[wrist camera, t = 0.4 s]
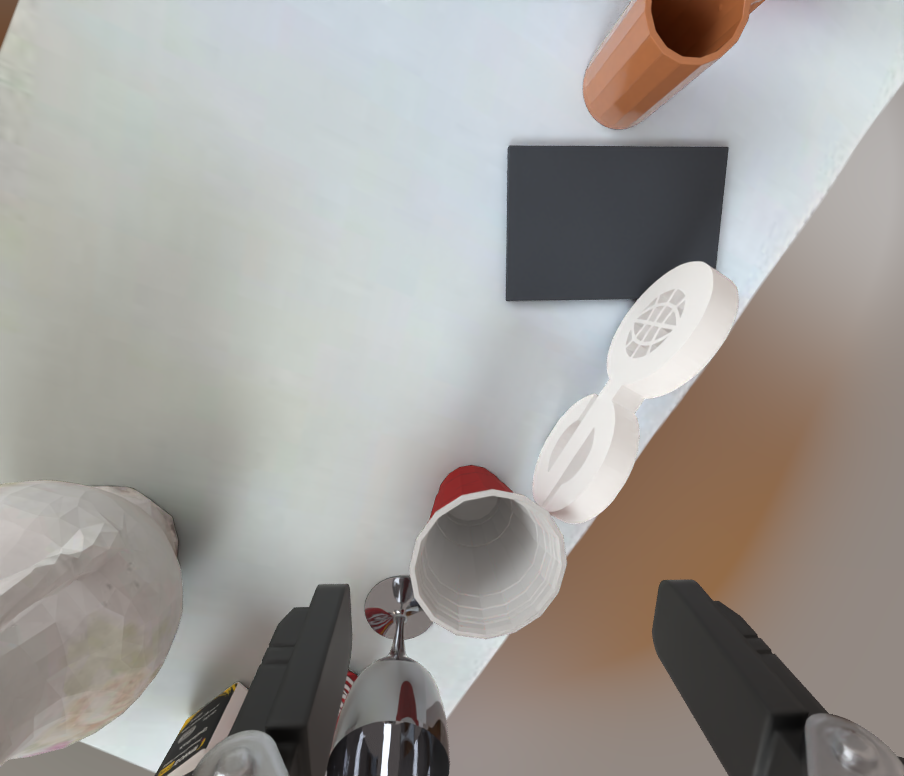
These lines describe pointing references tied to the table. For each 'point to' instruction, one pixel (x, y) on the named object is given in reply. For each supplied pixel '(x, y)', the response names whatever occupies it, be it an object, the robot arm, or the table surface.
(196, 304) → the table surface
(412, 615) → the wine glass
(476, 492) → the plastic cup
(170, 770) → the medicine bottle
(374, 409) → the table surface
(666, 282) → the white twin disc part
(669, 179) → the mat
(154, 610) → the ceramic pitcher
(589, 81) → the brown mug
